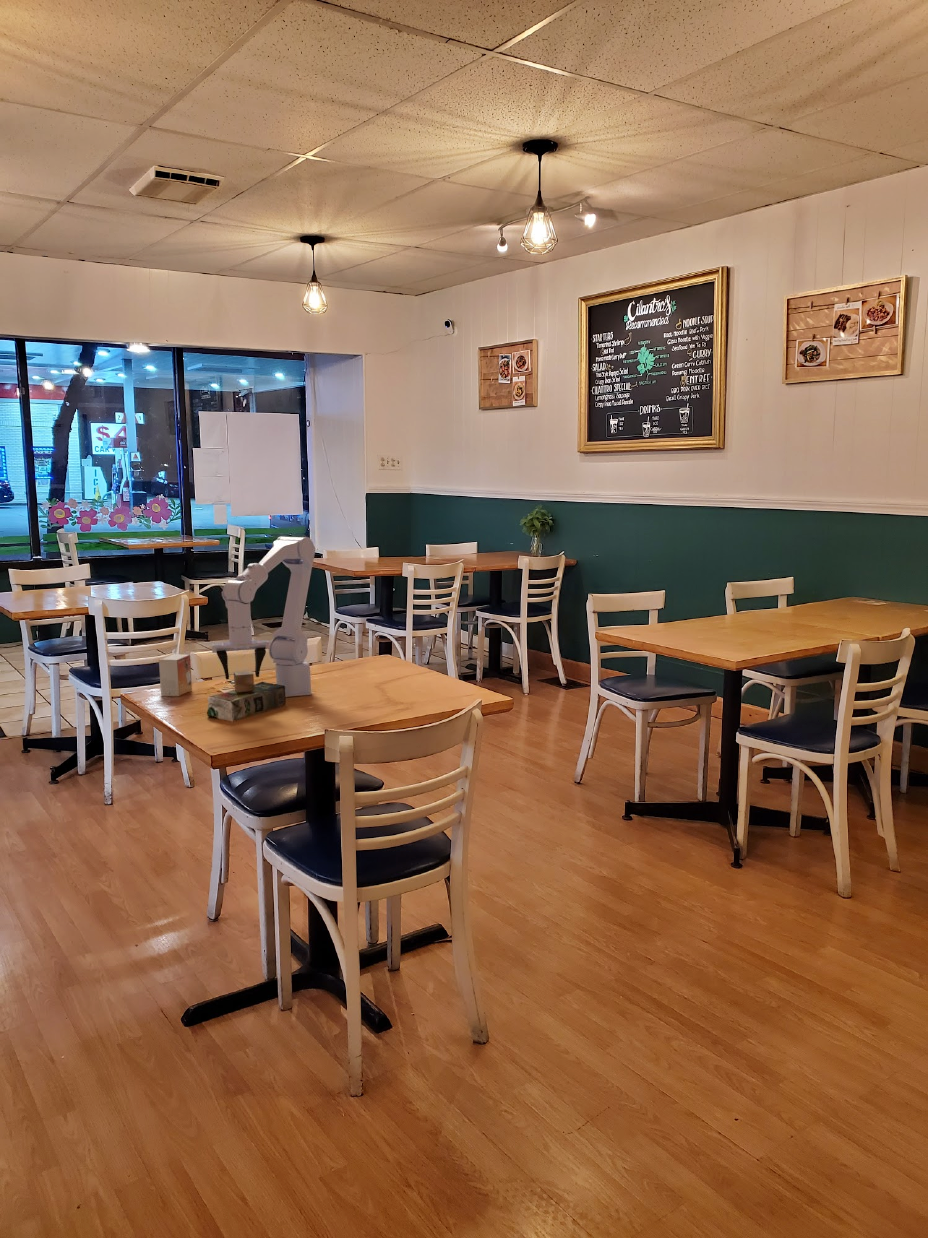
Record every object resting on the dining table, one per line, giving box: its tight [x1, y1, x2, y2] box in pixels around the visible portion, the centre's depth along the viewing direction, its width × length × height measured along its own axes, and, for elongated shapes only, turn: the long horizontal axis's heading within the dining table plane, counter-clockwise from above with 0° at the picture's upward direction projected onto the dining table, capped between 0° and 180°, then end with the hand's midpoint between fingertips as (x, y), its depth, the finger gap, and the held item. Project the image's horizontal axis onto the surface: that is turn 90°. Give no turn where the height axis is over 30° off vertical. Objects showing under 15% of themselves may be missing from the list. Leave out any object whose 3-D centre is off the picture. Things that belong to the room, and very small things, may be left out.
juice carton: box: [206, 681, 287, 722], centre depth 244 cm, size 20×10×6 cm, turn 146°
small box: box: [158, 653, 193, 697], centre depth 263 cm, size 8×6×10 cm
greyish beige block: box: [233, 669, 255, 692], centre depth 244 cm, size 4×4×4 cm
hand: (242, 677), depth 244 cm, fingers open, 7 cm apart
